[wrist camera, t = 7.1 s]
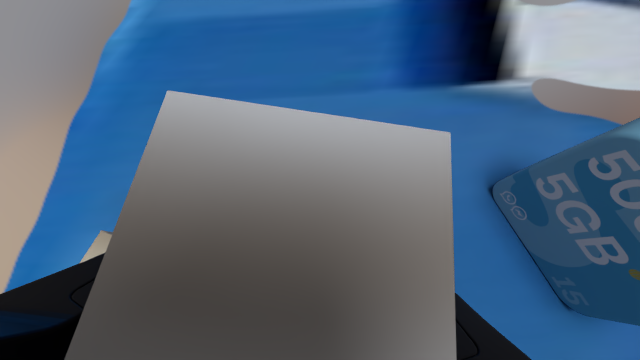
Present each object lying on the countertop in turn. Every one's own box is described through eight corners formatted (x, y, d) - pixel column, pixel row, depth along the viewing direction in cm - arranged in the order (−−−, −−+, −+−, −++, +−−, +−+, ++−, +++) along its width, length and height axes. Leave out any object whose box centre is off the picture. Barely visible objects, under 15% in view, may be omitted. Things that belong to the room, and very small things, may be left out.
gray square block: (337, 318, 14) (460, 512, 3) (246, 305, 14) (26, 457, 3) (346, 227, 16) (449, 132, 5) (265, 216, 16) (167, 90, 5)
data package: (484, 187, 25) (637, 122, 13) (521, 169, 26) (694, 93, 14) (568, 314, 22) (856, 368, 10) (606, 289, 23) (914, 314, 11)
